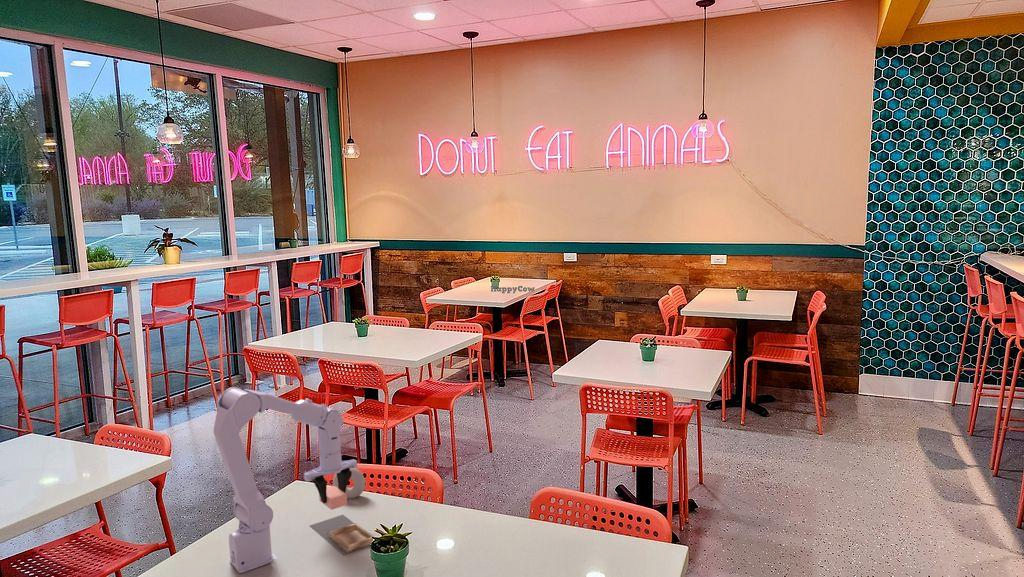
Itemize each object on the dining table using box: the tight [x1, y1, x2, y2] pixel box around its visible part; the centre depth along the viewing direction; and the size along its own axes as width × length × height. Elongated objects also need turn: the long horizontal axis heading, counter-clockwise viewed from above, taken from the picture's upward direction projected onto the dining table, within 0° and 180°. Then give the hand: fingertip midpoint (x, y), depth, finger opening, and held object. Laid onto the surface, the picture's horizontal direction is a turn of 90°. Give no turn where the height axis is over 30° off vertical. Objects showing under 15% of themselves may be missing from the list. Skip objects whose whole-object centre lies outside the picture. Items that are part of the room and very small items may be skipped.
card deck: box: [318, 486, 348, 511], centre depth 184 cm, size 8×5×3 cm, turn 40°
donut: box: [332, 468, 366, 500], centre depth 204 cm, size 10×4×10 cm, turn 84°
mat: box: [309, 514, 371, 557], centre depth 181 cm, size 10×22×1 cm, turn 39°
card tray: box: [329, 522, 376, 553], centre depth 177 cm, size 8×11×2 cm
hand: (333, 499), depth 184 cm, fingers closed on card deck, 5 cm apart
